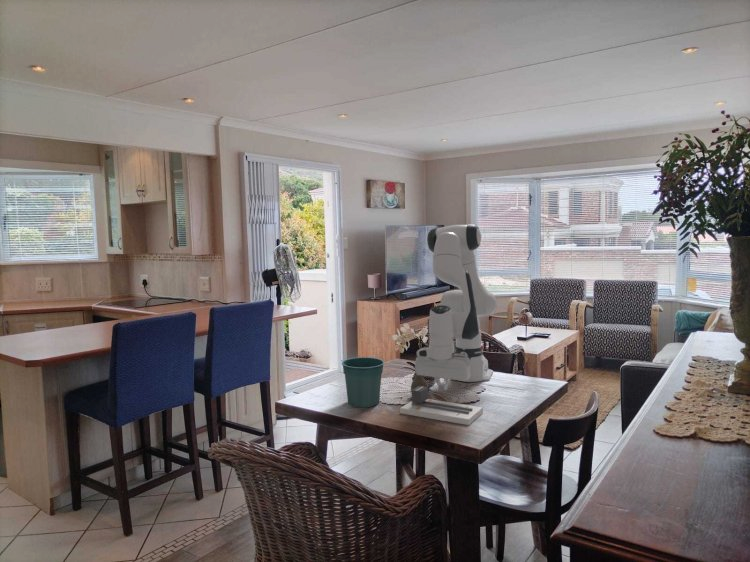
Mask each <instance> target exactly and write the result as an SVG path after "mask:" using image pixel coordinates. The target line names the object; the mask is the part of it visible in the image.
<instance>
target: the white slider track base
mask: <svg viewBox="0 0 750 562" xmlns="http://www.w3.org/2000/svg"><path fill="white" fill-rule="evenodd" d="M399 411H400V414H402V415H409V416H415V417H420V418H425V419H431V420H437V421H443V422H449V423H452V424H453V423H454V424H458V425H459V424H461V425H466V426H470V425H471V424H472V423H474V421H476V419H478V418H479V417H480V416H481V415H483V414H484V407H483V406H476V405H470V404H463V403H458V402H452V401H451V402H450V401H445V400H437V399H432V398H431V399H430V398H428V399H427V400H425V401H424V402H423V403H415V402H412V400H411V401H409V402H408V403H406V404H403V406H402V407H400V409H399Z"/></svg>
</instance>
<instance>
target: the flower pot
mask: <svg viewBox="0 0 750 562" xmlns="http://www.w3.org/2000/svg"><path fill="white" fill-rule="evenodd" d="M341 365H342V369H343V373H344V377H345V378H344V379H345V387H346V390H345V391H346V398H347V403H348V405H349V406H352V407H353V406H354V407H355V408H361V409H362V408H363V409H367V408H373V407H374V406H377V405H379V403H380V395H381V386H382V383H381V382H382V374H383V370H384V365H385V360H384V359H381V358H378V357H370V356H369V357H367V356H360V357H351V358H347V359H343V360H342V361H341Z"/></svg>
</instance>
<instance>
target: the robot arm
mask: <svg viewBox="0 0 750 562" xmlns="http://www.w3.org/2000/svg"><path fill="white" fill-rule="evenodd" d="M481 241H482V233H481V230H480V228H479V226H477V224H473V223H468V224H452V225H448V226H443V227H441V226H440V227H434V228H432V229H430V230H429V232H428V233H427V239H426V243H427V247H428V250H429V251H431V252H432V253H433V255H432V272H433V274H434V275H435V276H436V277H437V279H438V280H440V281H441V282H443V283H445V284H447V285H451V286H454V287H456V288H457V289H453V290H447V291H445V292H444V293H443V294H442V295H441V298H440V305H435V306H433V307H431V308H430V310H429V317H428V318H427V332H428V334H429V343H428V344H429V345H427V346H424V347H422V348H421V347H420V348H419V349H418V350H417V351H416V358H415V362H414V373H415V374H416V376H417V375H422V376H423V377H424V376H425V377H431V378H434V381H435V383H436V385H437V390H441V391H447V390H448V384H449V383H450V381H451V380H456V381H459V382H467V383H468V382H469V383H475V382H482V381H484V382H486V381H487V382H488V381H490V379H491V377H493V374H494V370H492V369H490V368H489V362H488V361H489V360H488V359H487V358H486V357H485V356H484V351H483V350H484V348H485V345H483V344H482V329H481V321H480V318H481V317H488V316H492V315H494V313H495V311H496V309H497V307H498V302H497V299H496V296H495V295H494V294H493V293H492V292H491V291H489V289H487V288H486V287H485V286H484V285H483V283H482V281H481V279H480V277H479V273H478V269H477V264H476V263H477V262H476V256H475V251H474V250H476V249H478V248H479V247H480V246H481ZM454 339H455V340H454ZM454 341H455V342H454ZM441 379H443V381H444V383H442V382H441V381H440V380H441Z"/></svg>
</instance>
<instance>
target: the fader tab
mask: <svg viewBox="0 0 750 562" xmlns="http://www.w3.org/2000/svg"><path fill="white" fill-rule="evenodd" d="M427 399H429V386H428V387H423V386H418V387H416V388H415V389H413V390H412V393H411V401H412V402H415V403H423V402H424V401H425V400H427Z"/></svg>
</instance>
